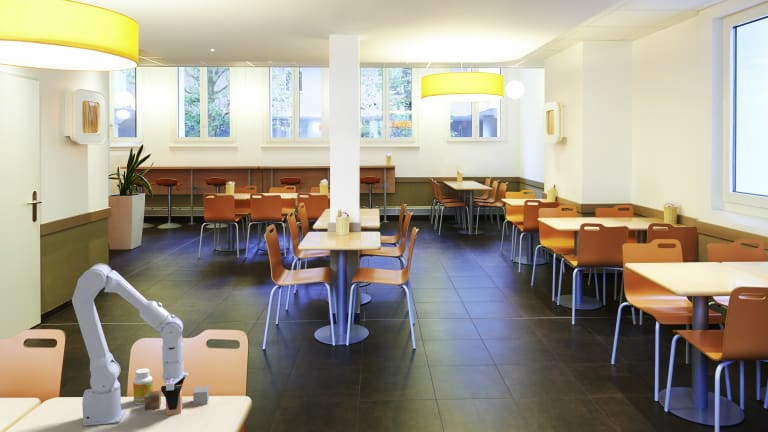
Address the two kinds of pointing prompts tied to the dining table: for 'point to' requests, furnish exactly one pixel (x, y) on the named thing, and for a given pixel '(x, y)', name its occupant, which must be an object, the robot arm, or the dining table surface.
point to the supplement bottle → (142, 385)
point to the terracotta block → (179, 406)
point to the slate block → (200, 396)
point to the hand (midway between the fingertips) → (174, 404)
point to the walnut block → (152, 400)
